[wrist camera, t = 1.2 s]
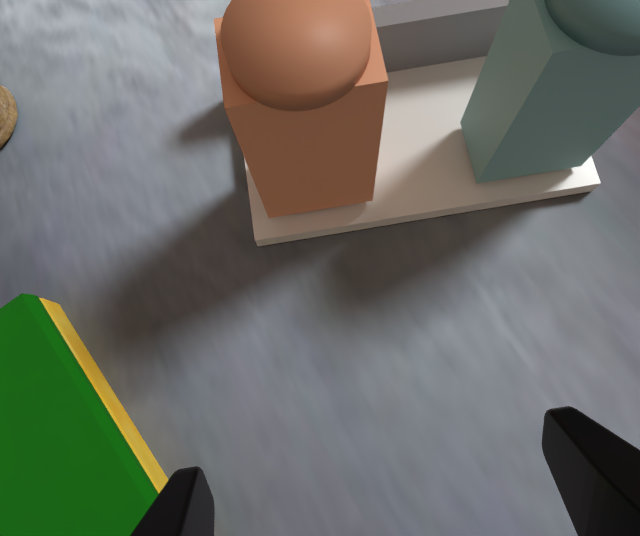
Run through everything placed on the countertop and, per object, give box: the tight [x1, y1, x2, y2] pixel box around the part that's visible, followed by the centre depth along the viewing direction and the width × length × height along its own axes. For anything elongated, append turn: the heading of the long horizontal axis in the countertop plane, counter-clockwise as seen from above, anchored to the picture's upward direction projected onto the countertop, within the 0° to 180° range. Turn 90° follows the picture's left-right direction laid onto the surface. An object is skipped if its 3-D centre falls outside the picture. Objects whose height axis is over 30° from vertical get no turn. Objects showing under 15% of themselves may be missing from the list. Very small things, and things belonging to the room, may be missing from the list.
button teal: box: [460, 0, 640, 183], centre depth 17 cm, size 4×4×9 cm
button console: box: [244, 0, 601, 246], centre depth 21 cm, size 8×15×4 cm, turn 99°
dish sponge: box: [0, 294, 168, 536], centre depth 19 cm, size 7×14×2 cm, turn 38°
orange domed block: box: [214, 0, 388, 218], centre depth 17 cm, size 4×4×9 cm
